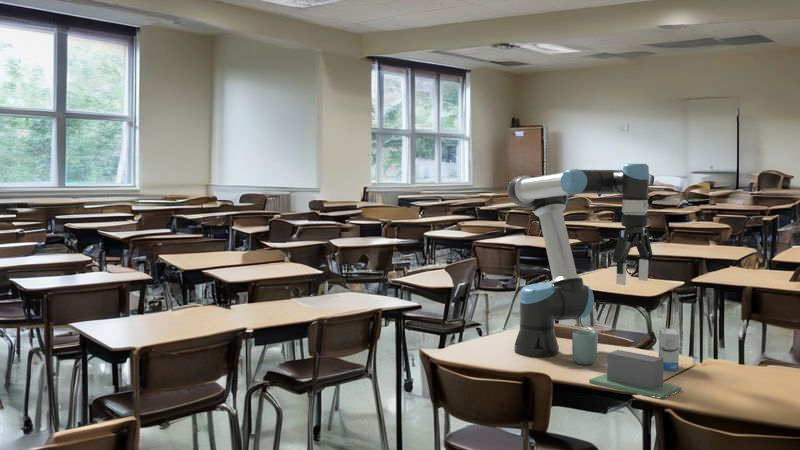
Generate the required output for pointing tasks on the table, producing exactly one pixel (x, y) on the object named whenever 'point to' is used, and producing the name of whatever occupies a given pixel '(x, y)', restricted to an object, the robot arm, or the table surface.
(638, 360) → the block
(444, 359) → the table surface
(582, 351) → the cup
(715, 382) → the table surface
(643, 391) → the header
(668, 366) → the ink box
